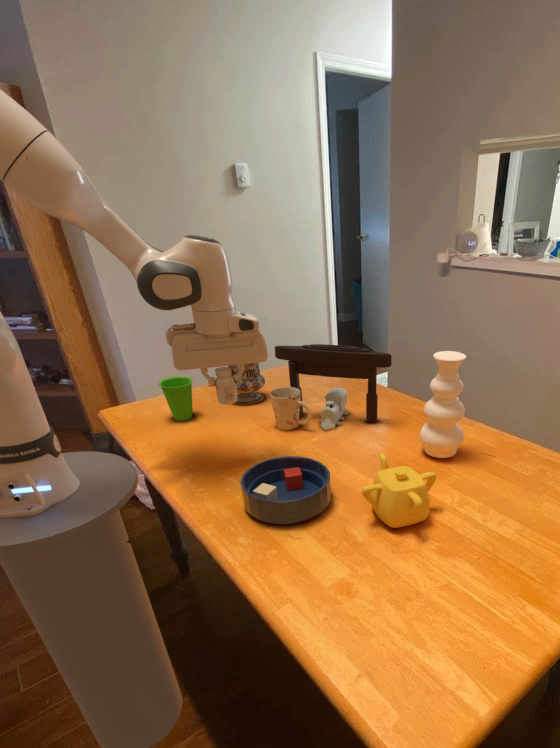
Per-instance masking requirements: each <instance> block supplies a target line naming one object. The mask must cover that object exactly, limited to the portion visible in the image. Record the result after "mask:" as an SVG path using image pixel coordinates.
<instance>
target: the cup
mask: <svg viewBox="0 0 560 748" xmlns="http://www.w3.org/2000/svg"><path fill="white" fill-rule="evenodd" d="M192 384H193V379H192V378H191V377H189V376H171V377H166V378H163V379H162V380H160V381H159V382H158V386H159V387H160V388H161V391H162V393H163V395H164V397H165V398H164V399H165V401H166V402H167V405H168V407H169V409H170V412H171V414H172V417H173V419H174V420H175V421H177V422H184V421H185V422H186V421H188V420H191V419H192V418H193V415H194V413H193V412H194V411H193V390H192V389H193V385H192Z"/></svg>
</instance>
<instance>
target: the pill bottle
mask: <svg viewBox="0 0 560 748" xmlns="http://www.w3.org/2000/svg"><path fill="white" fill-rule="evenodd" d="M214 373H215V375H216V378H215V384H216V386H215V392H216V397H217V402H218V403H219V404H220V405H232V404H236V403H235V402H236V401H237V394H238V393H237V392H236V385H235V379H234V378H233V377H232V376H231V375H232V372H231V368H230V367H228V366H220V367H215V369H214Z"/></svg>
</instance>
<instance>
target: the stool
mask: <svg viewBox="0 0 560 748" xmlns="http://www.w3.org/2000/svg"><path fill="white" fill-rule="evenodd" d="M274 356H275V358H276V359H277V360H282V361H287V365H288V377H289V387H294V388H297V389H299V390H300V401H302V402H303V389H302V387H301V385H300V375H304V376H305V375H306V376H313V377H314V376H317V377H325V378H326V377H327V378H339V379H340V378H341V379H356V380H358V379H359V380H360V379H361V380H367V392H366V395H365V420H366V422H367V423H371V424H372V423H374V424H376V423H377V421H378V408H379V407H378V404H379V403H378V401H379V400H378V399H379V398H378V396H379V394H378V393H377V383H378V382H377V380H378V379H377V376H378V375H377V374H378V368H384V369H385V368H390V367H392V363H393V361H392V354H391V353H387V352H381V351H371V349H368V348H362V347H359V346H351V345H343V344H342V345H340V344H320V343H314V344H313V343H311V344H301V345H275V346H274ZM348 392H349V391H347V389H345V388H342V387H333V388H332V389H329V391H328V392H327V393H326V394H325V396H324V398H325V406H324V408H323V409H322V410H321V412H320V416H321V417H320V418H321V419H320V428H321V429H323V431H325V432H326V431H329V430H330V431H331V430H334V429H336V426H341V424H342V422H341V421H344V420H345V416H348V415H349V412H348V411H346V406H347V405H348ZM303 416H304V407H303V406H300V412H299V419H300V418H302V417H303Z"/></svg>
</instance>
